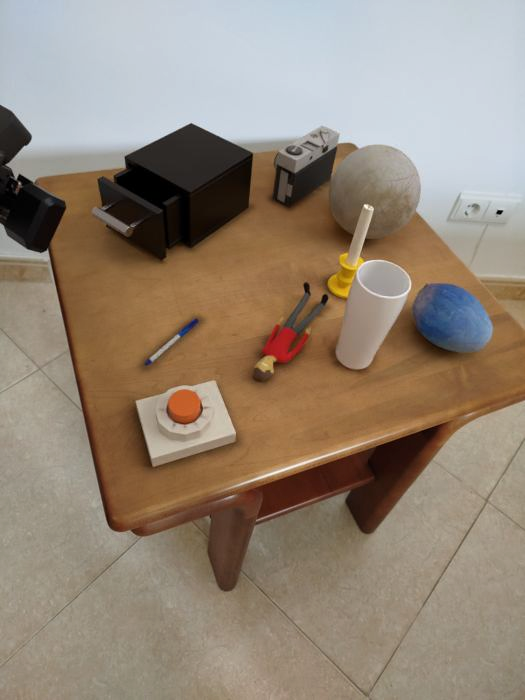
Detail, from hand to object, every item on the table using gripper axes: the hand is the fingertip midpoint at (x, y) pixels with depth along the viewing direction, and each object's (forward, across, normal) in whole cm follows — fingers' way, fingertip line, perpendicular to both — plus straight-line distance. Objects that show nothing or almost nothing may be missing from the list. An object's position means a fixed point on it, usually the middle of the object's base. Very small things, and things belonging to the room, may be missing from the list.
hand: (50, 212), depth 61 cm
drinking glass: (+21, -39, -2) cm, 44 cm away
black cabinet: (+28, 0, -9) cm, 29 cm away
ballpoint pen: (+11, -18, +8) cm, 23 cm away
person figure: (+19, -30, 0) cm, 35 cm away
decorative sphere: (+40, -26, -21) cm, 52 cm away
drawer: (+21, 0, -4) cm, 21 cm away
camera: (+42, -9, -23) cm, 49 cm away
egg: (+30, -46, -11) cm, 56 cm away
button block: (+4, -28, +14) cm, 32 cm away
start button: (+2, -28, +12) cm, 31 cm away
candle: (+29, -31, -10) cm, 44 cm away
